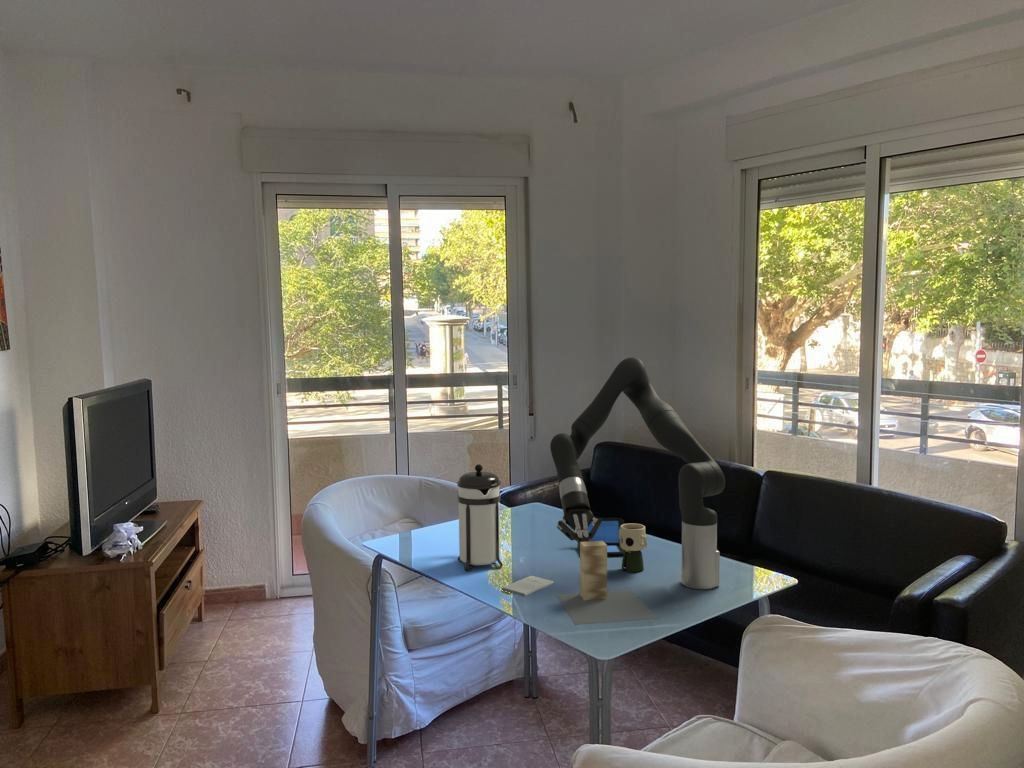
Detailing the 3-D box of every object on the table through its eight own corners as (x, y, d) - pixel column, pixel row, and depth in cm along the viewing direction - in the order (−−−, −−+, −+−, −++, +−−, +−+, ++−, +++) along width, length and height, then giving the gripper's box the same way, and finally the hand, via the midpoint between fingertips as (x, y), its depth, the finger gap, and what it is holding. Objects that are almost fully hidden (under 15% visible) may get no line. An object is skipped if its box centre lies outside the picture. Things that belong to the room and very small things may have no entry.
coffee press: (516, 561, 222) (515, 462, 220) (485, 576, 209) (484, 471, 207) (470, 552, 232) (469, 457, 230) (437, 565, 219) (436, 465, 217)
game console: (581, 558, 225) (581, 529, 225) (575, 545, 239) (575, 518, 238) (632, 557, 226) (632, 528, 225) (623, 544, 240) (623, 517, 239)
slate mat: (630, 591, 196) (630, 589, 196) (657, 620, 176) (657, 618, 176) (556, 596, 193) (556, 594, 193) (575, 626, 173) (575, 624, 173)
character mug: (610, 568, 215) (610, 524, 214) (628, 563, 219) (628, 520, 218) (637, 578, 206) (637, 532, 205) (655, 573, 210) (655, 528, 209)
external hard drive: (501, 593, 197) (530, 580, 207) (525, 599, 192) (554, 586, 202) (501, 587, 197) (530, 574, 207) (525, 593, 192) (553, 580, 201)
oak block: (602, 593, 193) (602, 540, 192) (607, 598, 189) (607, 545, 188) (579, 594, 192) (579, 541, 191) (584, 600, 188) (584, 546, 187)
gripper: (594, 503, 213) (606, 557, 202) (549, 505, 211) (559, 560, 200) (599, 488, 207) (612, 544, 196) (553, 490, 205) (563, 547, 194)
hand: (585, 552), depth 198 cm, fingers closed
